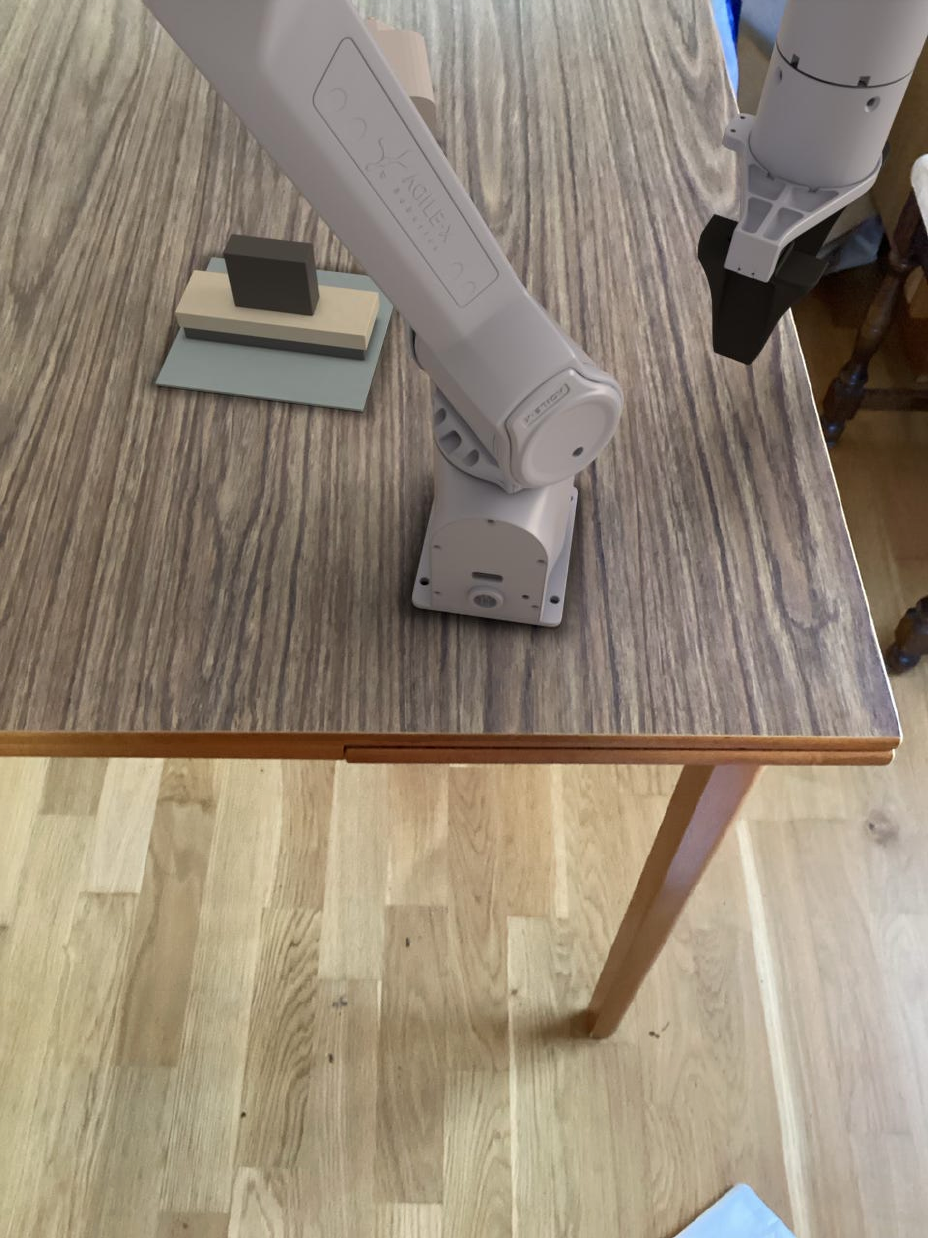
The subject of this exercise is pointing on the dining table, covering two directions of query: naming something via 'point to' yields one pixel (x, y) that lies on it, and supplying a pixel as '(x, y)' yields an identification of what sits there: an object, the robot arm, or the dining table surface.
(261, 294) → the brush
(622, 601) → the dining table surface
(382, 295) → the mat
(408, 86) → the charger
